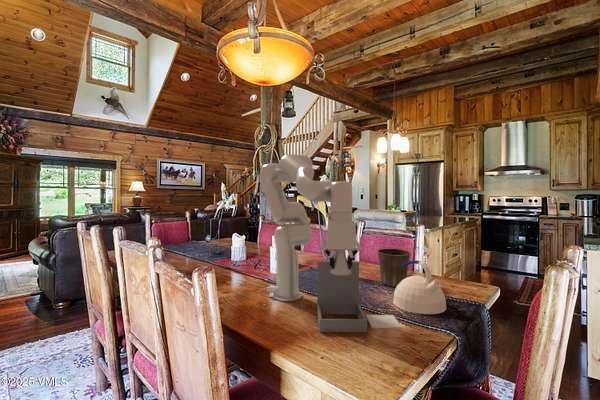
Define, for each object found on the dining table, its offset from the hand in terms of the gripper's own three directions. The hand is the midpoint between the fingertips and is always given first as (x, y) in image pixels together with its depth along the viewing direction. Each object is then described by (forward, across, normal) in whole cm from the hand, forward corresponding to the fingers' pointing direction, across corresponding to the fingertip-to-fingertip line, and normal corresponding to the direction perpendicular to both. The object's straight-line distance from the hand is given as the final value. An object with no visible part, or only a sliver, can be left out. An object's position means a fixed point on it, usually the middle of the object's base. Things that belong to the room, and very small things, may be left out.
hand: (340, 267), depth 109 cm
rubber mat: (+19, +15, 0) cm, 24 cm away
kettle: (+20, +34, +17) cm, 43 cm away
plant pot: (+20, +32, +46) cm, 59 cm away
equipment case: (+19, 0, 0) cm, 19 cm away
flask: (+2, 0, 0) cm, 2 cm away
